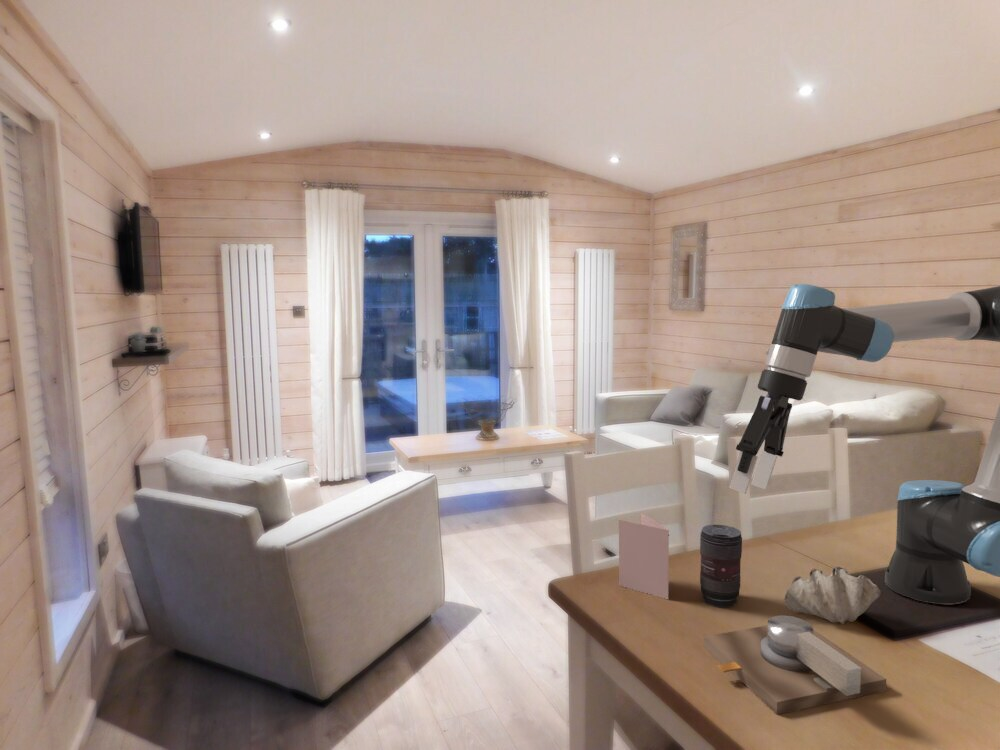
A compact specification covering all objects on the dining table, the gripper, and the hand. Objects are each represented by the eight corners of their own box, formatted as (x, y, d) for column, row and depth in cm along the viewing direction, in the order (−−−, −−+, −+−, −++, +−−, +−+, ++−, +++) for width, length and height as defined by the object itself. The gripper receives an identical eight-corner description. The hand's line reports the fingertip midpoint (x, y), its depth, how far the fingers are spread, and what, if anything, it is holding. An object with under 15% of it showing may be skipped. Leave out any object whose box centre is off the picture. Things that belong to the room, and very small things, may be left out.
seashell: (863, 641, 119) (865, 589, 118) (781, 614, 130) (782, 565, 129) (882, 621, 126) (884, 571, 125) (802, 597, 137) (803, 550, 136)
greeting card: (672, 599, 138) (672, 529, 136) (640, 604, 136) (639, 534, 134) (645, 577, 149) (644, 512, 147) (614, 582, 147) (614, 516, 145)
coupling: (758, 639, 114) (758, 617, 113) (793, 633, 116) (793, 611, 115) (833, 698, 97) (834, 673, 97) (872, 690, 99) (873, 665, 98)
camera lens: (743, 610, 132) (745, 538, 130) (701, 607, 134) (702, 536, 132) (737, 592, 140) (738, 524, 138) (698, 590, 141) (698, 522, 140)
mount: (799, 629, 124) (799, 612, 124) (885, 690, 105) (886, 670, 104) (688, 649, 118) (688, 631, 118) (758, 718, 99) (759, 696, 99)
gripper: (780, 374, 127) (747, 478, 129) (744, 360, 107) (705, 483, 109) (821, 385, 123) (786, 492, 125) (792, 372, 103) (750, 501, 105)
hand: (748, 489), depth 117 cm, fingers open, 13 cm apart
